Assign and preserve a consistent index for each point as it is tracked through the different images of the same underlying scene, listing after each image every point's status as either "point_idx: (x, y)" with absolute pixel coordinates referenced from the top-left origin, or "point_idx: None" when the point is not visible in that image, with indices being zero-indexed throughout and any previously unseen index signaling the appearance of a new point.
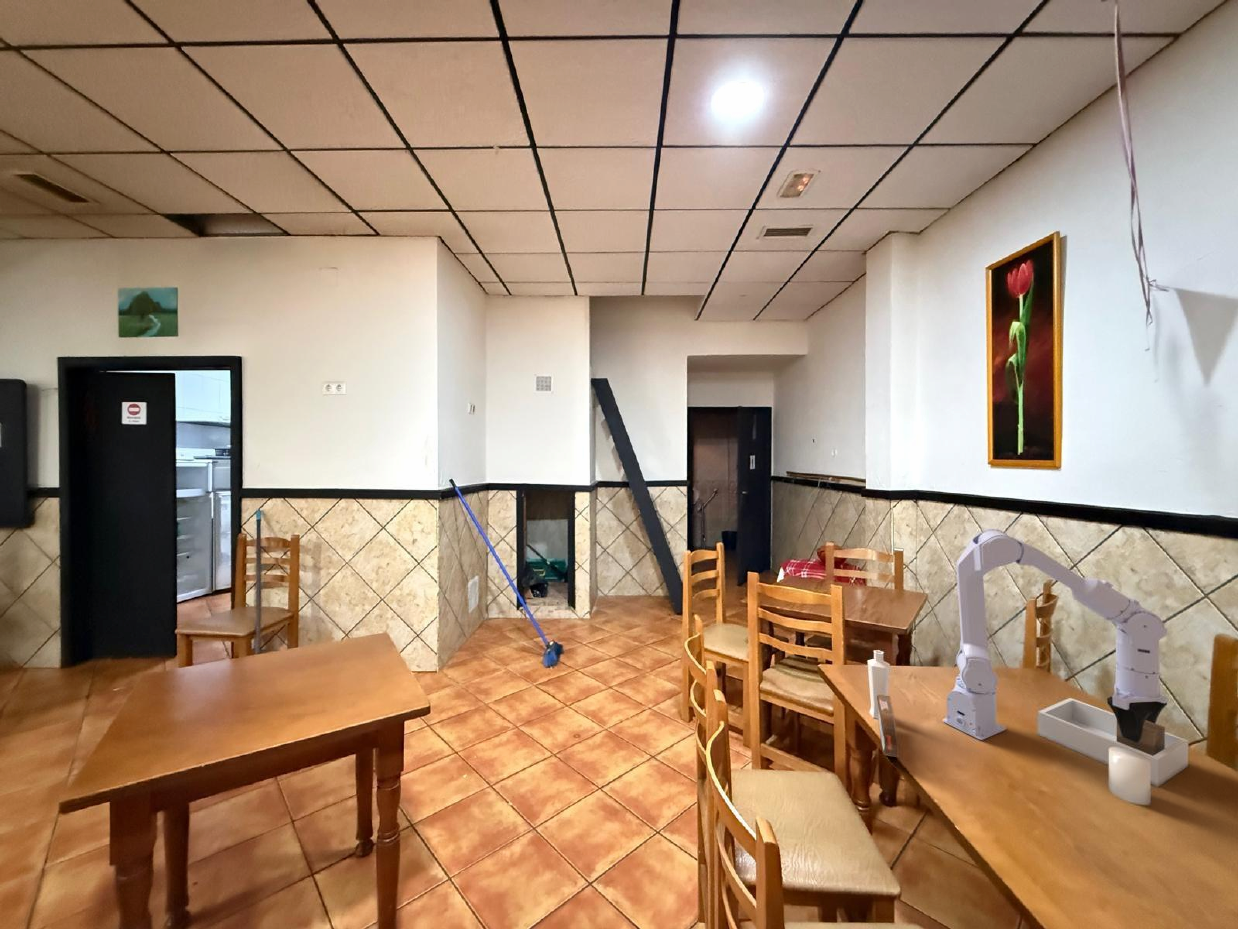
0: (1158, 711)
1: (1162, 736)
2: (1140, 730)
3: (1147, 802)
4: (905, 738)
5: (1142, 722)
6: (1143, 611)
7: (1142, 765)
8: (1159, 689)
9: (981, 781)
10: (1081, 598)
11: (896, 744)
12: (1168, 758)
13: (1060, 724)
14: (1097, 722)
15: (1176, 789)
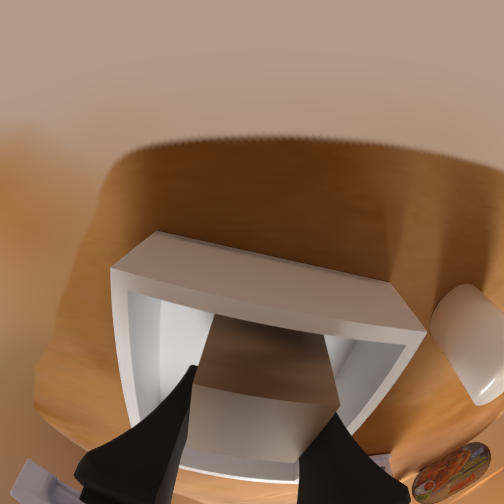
0: (168, 459)
1: (229, 358)
2: (344, 428)
3: (478, 289)
4: (428, 462)
5: (361, 460)
6: None
7: None
8: (26, 480)
9: (487, 406)
10: None
11: (489, 451)
12: (335, 305)
13: None
14: (154, 404)
15: (366, 247)
